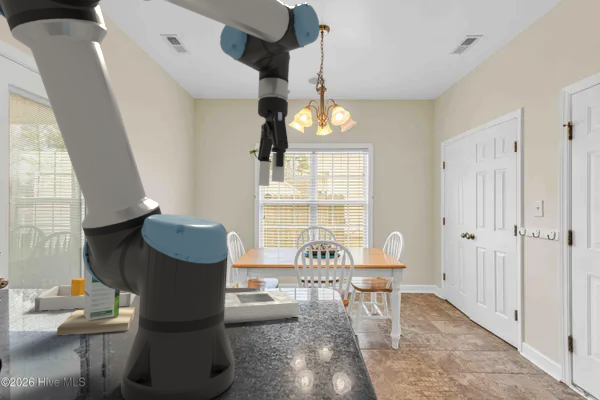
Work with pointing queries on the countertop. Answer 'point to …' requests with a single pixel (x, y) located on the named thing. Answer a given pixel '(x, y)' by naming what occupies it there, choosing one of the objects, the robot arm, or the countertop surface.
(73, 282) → the pipe clamp
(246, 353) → the countertop surface
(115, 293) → the syrup box
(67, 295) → the parts tray frame
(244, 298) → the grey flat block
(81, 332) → the maple pad
